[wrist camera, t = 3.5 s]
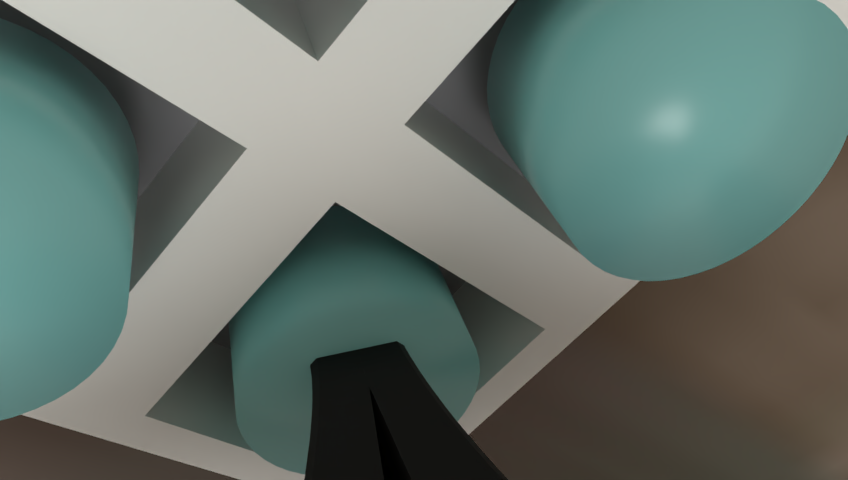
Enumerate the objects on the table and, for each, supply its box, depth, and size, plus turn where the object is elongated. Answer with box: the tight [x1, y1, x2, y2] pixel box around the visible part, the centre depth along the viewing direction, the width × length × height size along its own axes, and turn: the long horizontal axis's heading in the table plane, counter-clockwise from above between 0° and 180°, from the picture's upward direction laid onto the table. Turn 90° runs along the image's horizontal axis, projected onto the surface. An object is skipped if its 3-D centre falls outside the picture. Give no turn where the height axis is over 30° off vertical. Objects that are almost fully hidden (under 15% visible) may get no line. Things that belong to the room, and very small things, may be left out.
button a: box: [229, 206, 480, 474], centre depth 12 cm, size 4×4×2 cm
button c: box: [487, 0, 848, 281], centre depth 9 cm, size 4×4×2 cm
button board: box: [0, 0, 848, 480], centre depth 10 cm, size 12×12×2 cm
